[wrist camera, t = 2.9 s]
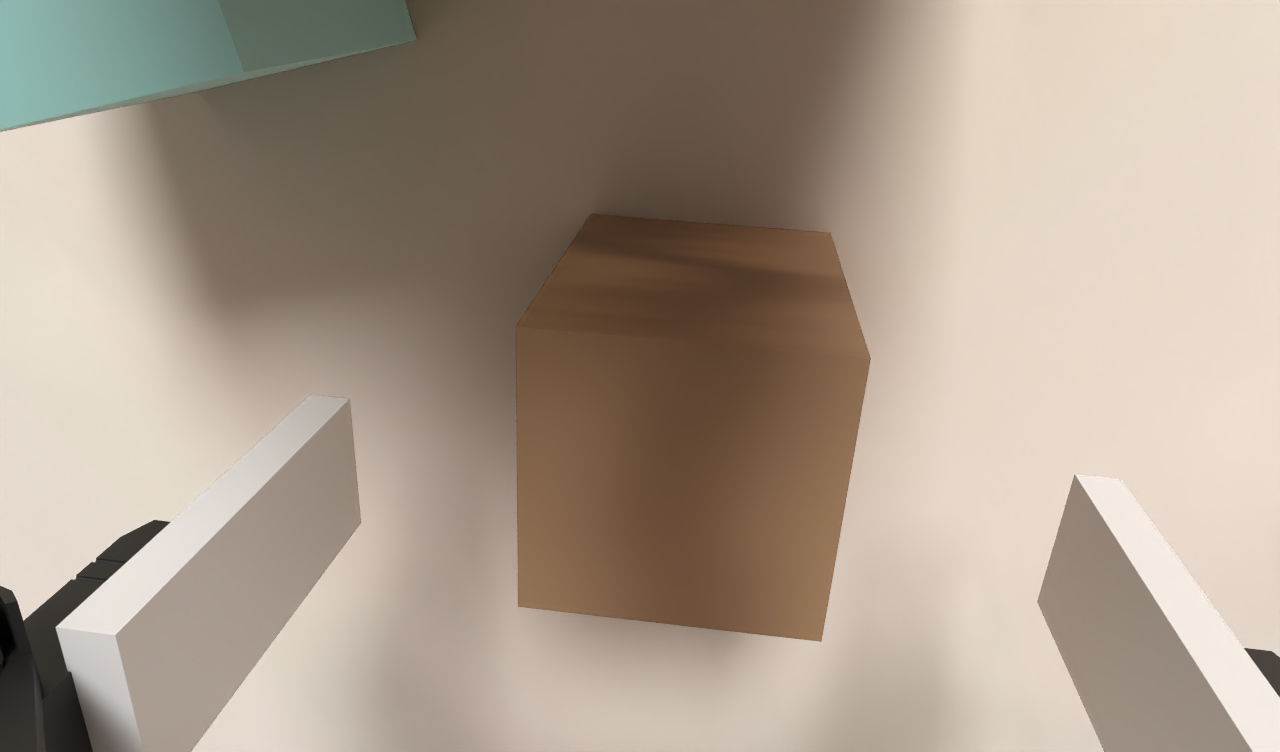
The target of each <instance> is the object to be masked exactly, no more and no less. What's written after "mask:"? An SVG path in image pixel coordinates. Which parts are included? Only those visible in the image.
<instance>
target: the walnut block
mask: <svg viewBox="0 0 1280 752" xmlns="http://www.w3.org/2000/svg"><path fill="white" fill-rule="evenodd" d="M869 364H870V355H869V352H868V349H867V346H866V343H865V340H864V337H863V334H862V330H861V327H860V324H859V321H858V318H857V315H856V312H855V309H854V305H853V302H852V299H851V296H850V293H849V290H848V287H847V284H846V280H845V277H844V274H843V271H842V268H841V265H840V262H839V259H838V256H837V252H836V249H835V246H834V243H833V240H832V237H831V234H830V233H825V232H812V231H800V230H787V229H774V228H761V227H749V226H736V225H723V224H711V223H698V222H685V221H672V220H660V219H647V218H634V217H621V216H609V215H596V214H591V215H590V216H589V218H588V219H587V221H586V222H585V224H584V225H583V227H582V228H581V230H580V231H579V233H578V234H577V236H576V237H575V239H574V240H573V242H572V243H571V245H570V246H569V248H568V249H567V251H566V252H565V254H564V255H563V257H562V258H561V260H560V261H559V263H558V264H557V266H556V267H555V269H554V270H553V272H552V273H551V275H550V276H549V278H548V279H547V281H546V282H545V284H544V285H543V287H542V288H541V290H540V291H539V293H538V294H537V296H536V297H535V299H534V300H533V302H532V303H531V305H530V306H529V308H528V309H527V311H526V312H525V314H524V315H523V317H522V318H521V320H520V321H519V323H518V324H517V326H516V402H517V524H518V607H526V608H535V609H543V610H552V611H561V612H569V613H578V614H587V615H595V616H604V617H613V618H622V619H630V620H639V621H648V622H656V623H665V624H674V625H682V626H691V627H700V628H708V629H717V630H726V631H734V632H743V633H752V634H760V635H769V636H778V637H786V638H795V639H804V640H812V641H822V635H823V629H824V623H825V618H826V612H827V606H828V600H829V595H830V589H831V583H832V577H833V572H834V566H835V560H836V554H837V548H838V543H839V537H840V531H841V525H842V520H843V514H844V508H845V502H846V497H847V491H848V485H849V479H850V474H851V468H852V462H853V456H854V451H855V445H856V439H857V433H858V428H859V422H860V416H861V410H862V404H863V399H864V393H865V387H866V381H867V376H868V370H869Z"/></svg>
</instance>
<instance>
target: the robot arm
mask: <svg viewBox="0 0 1280 752" xmlns="http://www.w3.org/2000/svg"><path fill="white" fill-rule="evenodd" d="M360 523H361V516H360V505H359V494H358V484H357V473H356V462H355V451H354V441H353V430H352V419H351V408H350V399H348V398H338V397H329V396H319V395H310V396H308V397H307V398H306V399H305V400H304V401H303V402H302V403H301V404H300V405H299V406H298V407H296V408H295V409H294V410H293V411H292V412H291V413H290V414H289V415H288V416H287V417H285V418H284V419H283V420H282V421H281V422H280V423H279V424H278V425H277V426H276V427H274V428H273V429H272V430H271V431H270V432H269V433H268V434H267V435H266V436H265V437H264V438H262V439H261V440H260V441H259V442H258V443H257V444H256V445H255V446H254V447H253V448H251V449H250V450H249V451H248V452H247V453H246V454H245V455H244V456H243V457H242V458H241V459H239V460H238V461H237V462H236V463H235V464H234V465H233V466H232V467H231V468H230V469H228V470H227V471H226V472H225V473H224V474H223V475H222V476H221V477H220V478H219V479H217V480H216V481H215V482H214V483H213V484H212V485H211V486H210V487H209V488H208V489H207V490H205V491H204V492H203V493H202V494H201V495H200V496H199V497H198V498H197V499H196V500H194V501H193V502H192V503H191V504H190V505H189V506H188V507H187V508H186V509H185V510H184V511H182V512H181V513H180V514H179V515H178V516H177V517H176V518H175V519H174V520H173V521H171V522H167V521H158V520H153V521H151V522H149V523H147V524H145V525H143V526H141V527H139V528H137V529H136V530H134V531H132V532H130V533H128V534H126V535H124V536H122V537H120V538H119V539H118V540H117V541H116V542H114V543H113V544H112V545H111V546H110V547H109V548H107V549H106V550H105V551H104V552H103V553H102V554H100V555H99V556H98V557H97V558H96V562H95V563H94V562H91V563H90V564H89V565H88V566H87V567H85V568H84V569H83V570H82V571H81V572H80V573H78V574H77V577H76V579H75V580H70V581H69V582H68V583H67V584H66V585H65V586H63V587H62V588H61V589H60V590H59V591H58V592H56V593H55V594H54V595H53V596H52V597H51V598H50V599H48V600H47V601H46V602H45V603H44V604H43V605H41V606H40V607H39V608H38V609H37V610H36V611H34V612H33V613H32V614H31V615H30V616H29V617H28V618H26V619H25V620H24V621H23V619H22V616H21V612H20V609H19V605H18V602H17V600H16V598H15V596H14V594H13V592H12V591H11V590H9V589H6V588H4V587H2V586H0V752H191V751H192V750H193V748H194V747H195V746H196V744H197V743H198V742H199V740H200V739H201V738H202V736H203V735H204V734H205V732H206V731H207V729H208V728H209V727H210V725H211V724H212V723H213V721H214V720H215V719H216V717H217V716H218V715H219V713H220V712H221V711H222V709H223V708H224V707H225V705H226V704H227V703H228V701H229V700H230V698H231V697H232V696H233V694H234V693H235V692H236V690H237V689H238V688H239V686H240V685H241V684H242V682H243V681H244V680H245V678H246V677H247V676H248V674H249V673H250V672H251V670H252V669H253V667H254V666H255V665H256V663H257V662H258V661H259V659H260V658H261V657H262V655H263V654H264V653H265V651H266V650H267V649H268V647H269V646H270V645H271V643H272V642H273V641H274V639H275V638H276V636H277V635H278V634H279V632H280V631H281V630H282V628H283V627H284V626H285V624H286V623H287V622H288V620H289V619H290V618H291V616H292V615H293V614H294V612H295V611H296V610H297V608H298V607H299V605H300V604H301V603H302V601H303V600H304V599H305V597H306V596H307V595H308V593H309V592H310V591H311V589H312V588H313V587H314V585H315V584H316V583H317V581H318V580H319V579H320V577H321V576H322V574H323V573H324V572H325V570H326V569H327V568H328V566H329V565H330V564H331V562H332V561H333V560H334V558H335V557H336V556H337V554H338V553H339V552H340V550H341V549H342V548H343V546H344V545H345V543H346V542H347V541H348V539H349V538H350V537H351V535H352V534H353V533H354V531H355V530H356V529H357V527H358V526H359V525H360ZM1037 602H1038V605H1039V607H1040V609H1041V611H1042V613H1043V616H1044V618H1045V620H1046V622H1047V625H1048V627H1049V629H1050V631H1051V634H1052V636H1053V638H1054V640H1055V642H1056V645H1057V647H1058V649H1059V651H1060V654H1061V656H1062V658H1063V660H1064V663H1065V665H1066V667H1067V669H1068V671H1069V674H1070V676H1071V678H1072V680H1073V683H1074V685H1075V687H1076V689H1077V692H1078V694H1079V696H1080V698H1081V700H1082V703H1083V705H1084V707H1085V709H1086V712H1087V714H1088V716H1089V718H1090V721H1091V723H1092V725H1093V727H1094V730H1095V732H1096V734H1097V736H1098V738H1099V741H1100V743H1101V745H1102V747H1103V750H1104V752H1280V657H1278V656H1277V655H1276V654H1275V653H1273V652H1272V651H1265V650H1256V649H1248V648H1243V646H1242V645H1241V644H1240V642H1239V641H1238V640H1237V638H1236V637H1235V635H1234V634H1233V633H1232V631H1231V630H1230V629H1229V627H1228V626H1227V624H1226V623H1225V622H1224V620H1223V619H1222V618H1221V616H1220V615H1219V613H1218V612H1217V611H1216V609H1215V608H1214V607H1213V605H1212V604H1211V602H1210V601H1209V600H1208V598H1207V597H1206V596H1205V594H1204V593H1203V591H1202V590H1201V589H1200V587H1199V586H1198V585H1197V583H1196V582H1195V580H1194V579H1193V578H1192V576H1191V575H1190V574H1189V572H1188V571H1187V569H1186V568H1185V567H1184V565H1183V564H1182V563H1181V561H1180V560H1179V558H1178V557H1177V556H1176V554H1175V553H1174V552H1173V550H1172V549H1171V547H1170V546H1169V545H1168V543H1167V542H1166V541H1165V539H1164V538H1163V537H1162V535H1161V534H1160V532H1159V531H1158V530H1157V528H1156V527H1155V526H1154V524H1153V523H1152V521H1151V520H1150V519H1149V517H1148V516H1147V515H1146V513H1145V512H1144V510H1143V509H1142V508H1141V506H1140V505H1139V504H1138V502H1137V501H1136V499H1135V498H1134V497H1133V495H1132V494H1131V493H1130V491H1129V490H1128V488H1127V487H1126V486H1125V484H1124V483H1123V482H1122V480H1121V479H1117V478H1108V477H1098V476H1088V475H1079V474H1075V475H1074V478H1073V482H1072V485H1071V488H1070V492H1069V495H1068V499H1067V502H1066V505H1065V509H1064V512H1063V516H1062V519H1061V522H1060V526H1059V529H1058V533H1057V536H1056V540H1055V543H1054V546H1053V550H1052V553H1051V557H1050V560H1049V563H1048V567H1047V570H1046V574H1045V577H1044V580H1043V584H1042V587H1041V591H1040V594H1039V598H1038V601H1037Z"/></svg>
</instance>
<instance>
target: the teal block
mask: <svg viewBox="0 0 1280 752" xmlns="http://www.w3.org/2000/svg"><path fill="white" fill-rule="evenodd" d="M415 40H417V39H416V36H415V33H414V29H413V26H412V22H411V19H410V15H409V12H408V8H407V5H406V2H405V0H0V132H2V131H7V130H12V129H17V128H21V127H26V126H31V125H36V124H41V123H46V122H51V121H56V120H61V119H65V118H70V117H75V116H80V115H85V114H90V113H95V112H100V111H105V110H109V109H114V108H119V107H124V106H129V105H134V104H139V103H144V102H149V101H153V100H158V99H163V98H168V97H173V96H178V95H183V94H188V93H193V92H197V91H202V90H206V89H210V88H214V87H219V86H223V85H227V84H231V83H236V82H240V81H244V80H249V79H253V78H257V77H261V76H266V75H270V74H274V73H279V72H283V71H287V70H291V69H296V68H300V67H304V66H308V65H313V64H317V63H321V62H326V61H330V60H334V59H338V58H343V57H347V56H351V55H355V54H360V53H364V52H368V51H373V50H377V49H381V48H385V47H390V46H394V45H398V44H403V43H407V42H411V41H415Z"/></svg>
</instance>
